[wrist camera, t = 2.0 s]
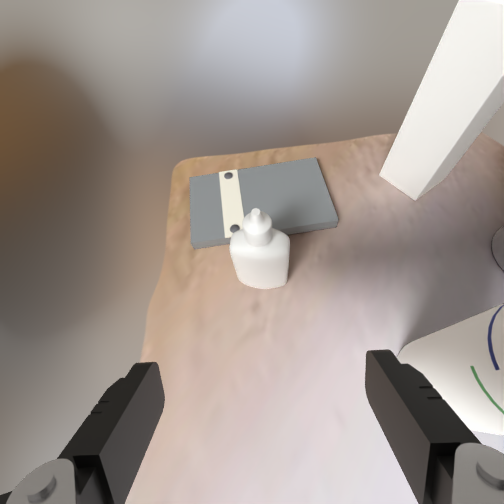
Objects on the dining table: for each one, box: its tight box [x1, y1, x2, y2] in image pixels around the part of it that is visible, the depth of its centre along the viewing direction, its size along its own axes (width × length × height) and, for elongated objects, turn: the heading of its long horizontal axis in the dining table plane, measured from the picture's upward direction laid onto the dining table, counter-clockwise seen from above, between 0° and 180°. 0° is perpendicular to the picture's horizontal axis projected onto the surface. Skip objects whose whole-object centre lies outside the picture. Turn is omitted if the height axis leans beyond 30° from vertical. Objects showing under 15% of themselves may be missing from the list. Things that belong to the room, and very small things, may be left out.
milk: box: [379, 0, 504, 201], centre depth 26 cm, size 6×6×22 cm
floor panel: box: [190, 157, 339, 249], centre depth 35 cm, size 18×11×2 cm, turn 97°
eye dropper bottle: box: [229, 208, 290, 289], centre depth 25 cm, size 4×6×12 cm
